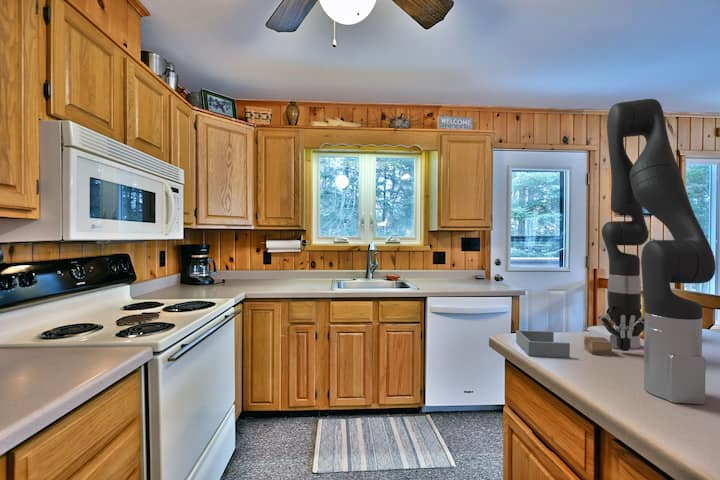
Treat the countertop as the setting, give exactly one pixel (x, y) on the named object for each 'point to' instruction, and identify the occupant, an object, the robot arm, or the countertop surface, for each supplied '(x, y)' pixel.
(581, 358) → the countertop surface
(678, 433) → the countertop surface
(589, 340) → the brown wooden block
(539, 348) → the box
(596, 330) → the charger
